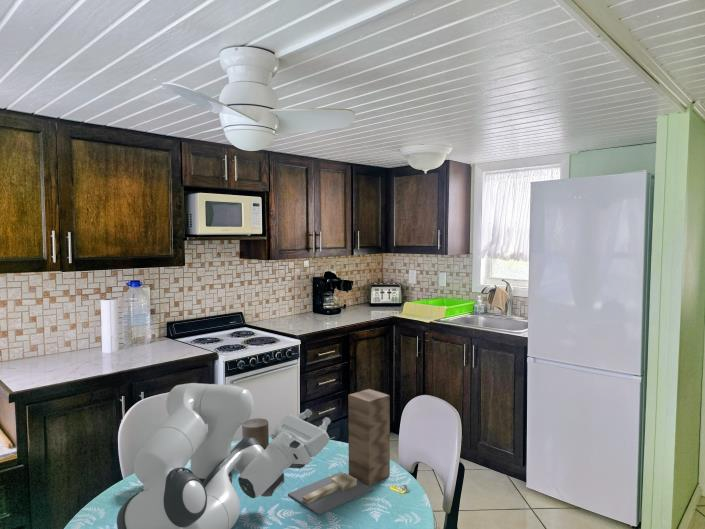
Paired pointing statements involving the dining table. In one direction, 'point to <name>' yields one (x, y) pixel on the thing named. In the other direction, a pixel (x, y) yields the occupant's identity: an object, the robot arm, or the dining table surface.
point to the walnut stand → (369, 436)
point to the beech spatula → (332, 487)
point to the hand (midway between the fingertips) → (319, 414)
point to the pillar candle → (257, 431)
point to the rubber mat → (329, 495)
